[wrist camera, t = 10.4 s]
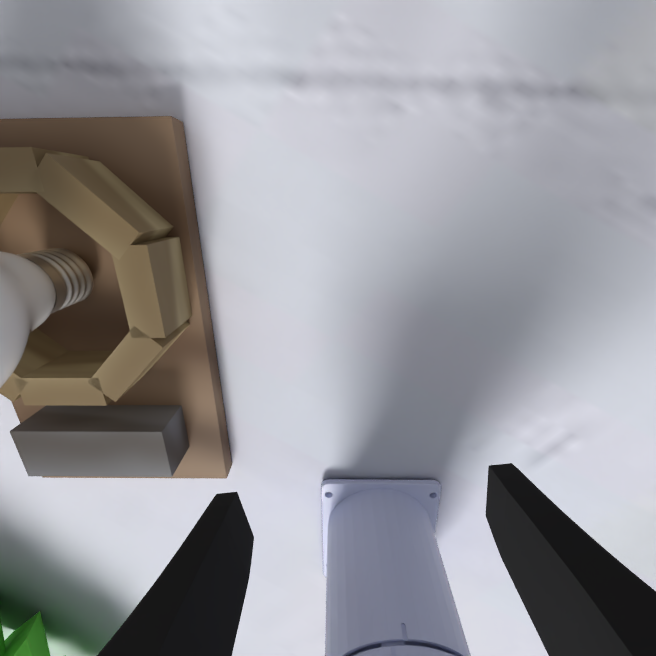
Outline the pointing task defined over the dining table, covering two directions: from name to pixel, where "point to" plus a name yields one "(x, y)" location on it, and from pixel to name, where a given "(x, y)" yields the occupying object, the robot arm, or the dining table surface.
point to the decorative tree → (26, 639)
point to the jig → (114, 302)
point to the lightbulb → (35, 296)
